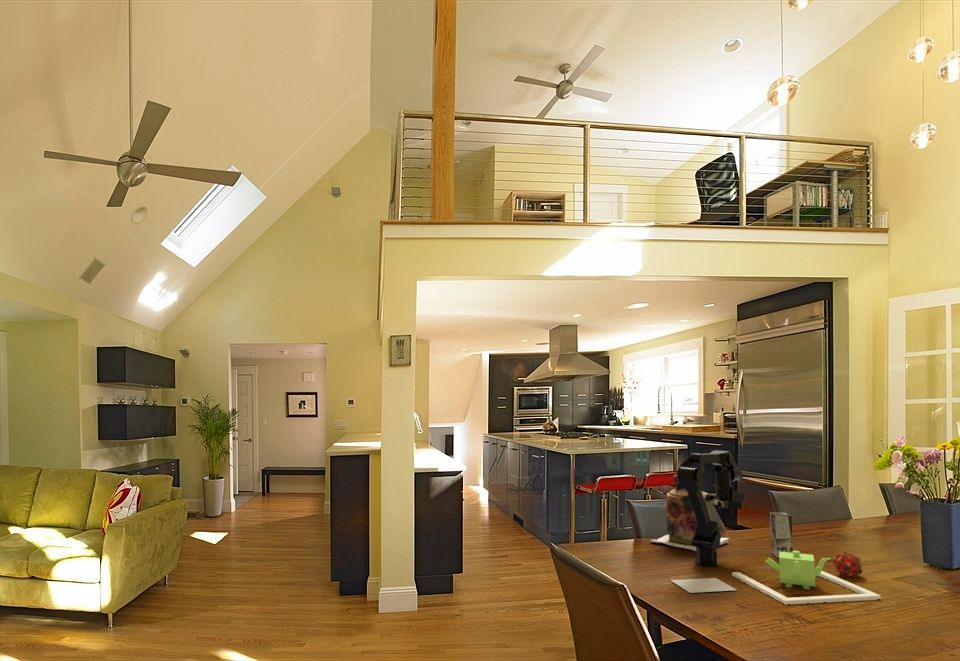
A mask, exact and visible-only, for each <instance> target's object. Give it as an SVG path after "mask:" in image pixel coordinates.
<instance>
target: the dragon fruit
mask: <svg viewBox="0 0 960 661" xmlns="http://www.w3.org/2000/svg"><path fill="white" fill-rule="evenodd" d="M834 558H835V559H834V561H833V566H834V568H836V573H839V574H840V576H841V577H842V578H848V577H853V576H854V578H855V577H857V576H858V575H860V574H862V573H863V567H862V564H861V558H859V557H858V556H855V554H854V553H852V552H851V553H850V552H849V553H848V552H847V551H844V552H842V553H841V554H837V555H836V556H835V557H834Z"/></svg>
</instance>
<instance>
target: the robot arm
mask: <svg viewBox="0 0 960 661" xmlns="http://www.w3.org/2000/svg"><path fill="white" fill-rule="evenodd" d="M707 464H708V465H709V464H712V465H714V466H715V467H714V468H713V469H712V472H714V477H715V478H714V480H715V482H714V483H715V484H713V485H712V486H713V488H714V489H715V493H708V494H707V495H706V496H705V501H708V503H710V502H714V503H712V506H713V507H714V510H715V511H716V513H717V515H718V517H719V519H720V521H721V524H724V525H725V524H726V523H727V521H728V517H729V515H730V512H731V511H732V510H736V509H737V510H738V509H739V510H740V509H741V510H742V509H744V503H745V500H746V494H745V493H742V492H740V491H738V489H737V488H735V487H734V486H732V482H735V481H739V480H741V478H742V476H743V471H742V470H741V468H740V467H738V464H737V462H736V459H735V458H734V455H733V454H732V451H730V450H729V451H728V450H718V449H717V450H716V449H715V450H712V451H711V452H710V453H709V452H708V453H705V452H703V453H700V452H699V453H698V452H692V453H690V454H689V456H688V458H687V459H686V460H684V461H683V462H681V463H680V465H679V467H678V468H677V471H676V474H677V479H678V481H679V483H680V485H681V486H682V487H683V488H684V489H685V490H686V491H687V493H688V496H689V499H690V502H691V505H692V508H693V511H694V514H695V517H696V520H697V526H696V528H695V535H694V537H693V539H692V546H695V547H696V551H695V552H696V559H695V560H694V563H695V564H697V565H699V566H701V567H718V566H719V564H718V554H717V553H718V552H717V551H716V550H718V549H720V546H721V545H720V539H721V538H722V535H721V532H720V530H721V529H720V527H719V525H718V524H719V523H718V522H717V521H716V520H712V519H711V520H710V517H709V514H708V510H707V507H706V504H705V501H704V498H703V495H702V492H703V491H702V489H701V485H702V483H703V476H704V475H705V473H706V470H705V465H707ZM694 465H699V467H692V466H694ZM701 491H702V492H701ZM701 541H702V542H701ZM704 542H707V543H704ZM710 543H711V544H710Z"/></svg>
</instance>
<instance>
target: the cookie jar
mask: <svg viewBox="0 0 960 661" xmlns="http://www.w3.org/2000/svg"><path fill="white" fill-rule="evenodd" d="M672 481H673V483H674V484H676V487H675V488H674V489H672V490H670V491H669V492H667V493H666V505H665V509H666V524H667V527H666V532H667V534H665V535H663V536H662V537H659V538H657V540H656V539H651V540H650V542H651V543H656V544H657V543H658V544H664V545H668V546H671V547H674V548H679V549H686V550H691V551H694V552H696V547H695V546H692V539H693V537H694V535H695V528H696V526H697V520H696V517H695V514H694V511H693V508H692V505H691V502H690V499H689V496H688V493H687V491H686V490H685V489H684V488H683V487H682V486H681V485H680V483H679V481H678V479H677V473H676V474H674V476H673V479H672ZM701 492H702V495H703V498H704V501H705V496H706V495H707V494H709V493H707V492H705V491H702V490H701ZM709 503H710V502H708V501H705V504H706V507H707V510H708V514H709V517H710V520H712V515H711V509H710V504H709ZM729 539H730V538H729V537H721V539H720V546H721V545H724V544H728V541H729ZM701 542H702V541H701ZM704 543H707V542H704ZM710 544H711V543H710Z"/></svg>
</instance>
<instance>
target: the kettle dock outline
mask: <svg viewBox="0 0 960 661" xmlns="http://www.w3.org/2000/svg"><path fill="white" fill-rule="evenodd" d="M731 576H732V577H733V576H734V578H735V577H736V578H735V579H737V578H738V579H737V580H739V579H740V580H739V581H741V582H742V583H744V582H745V584H746V585H749V586H750V587H752V588H754V589H755V588H756V590H757V589H758V591H759V590H760V591H759V592H762V593H763V594H765V595H766V594H767V595H766V596H768V595H769V597H770V596H771V597H770V598H772V597H773V598H772V599H774V600H775V601H777V600H778V601H777V602H779V601H780V602H779V603H781V602H782V603H781V604H783V603H784V605H785V606H787V605H788V604H790V605H805V604H807V603H809V604H824V603H823V602H827V603H839V602H840V603H841V602H842V603H844V602H843V601H845V602H858V601H859V602H860V601H862V600H863V601H876V600H877V599H881V600H882V596H881V595H880V594H878V593H875V592H873V591H871V590H869V589H866V588H863V587H861V586H859V585H856V584H854V583H851V582H850V581H848V580H845V579H843V578H840V577H838V576H835V575H833V574H831V573H828V572H825V571H823V570H822V572H821V573H820V575H818V576H817V577H820V578H822V577H823V579H826V580H827V579H828V580H827V581H829V580H830V581H829V582H831V583H834V582H835V583H834V584H836V583H837V584H836V585H838V584H840V585H839V586H841V585H842V586H841V587H843V586H844V587H843V588H845V587H846V588H845V589H848V588H849V589H848V590H850V589H851V590H850V591H852V590H853V591H852V592H854V591H855V592H854V594H853V593H852V594H851V593H849V594H833V595H815V596H813V595H812V596H799V597H797V596H796V597H787V596H785V595H783V594H781V593H780V592H777V591H775V590H774V589H772V588H770V587H768V586H767V585H764V584H763V583H760V582H759V581H756V580H755V579H753V578H751V577H749V576H747V575H746V574H744V573H742V572H739V571H732V572H731ZM859 593H860V594H859ZM863 601H862V602H863ZM807 605H808V604H807Z"/></svg>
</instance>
